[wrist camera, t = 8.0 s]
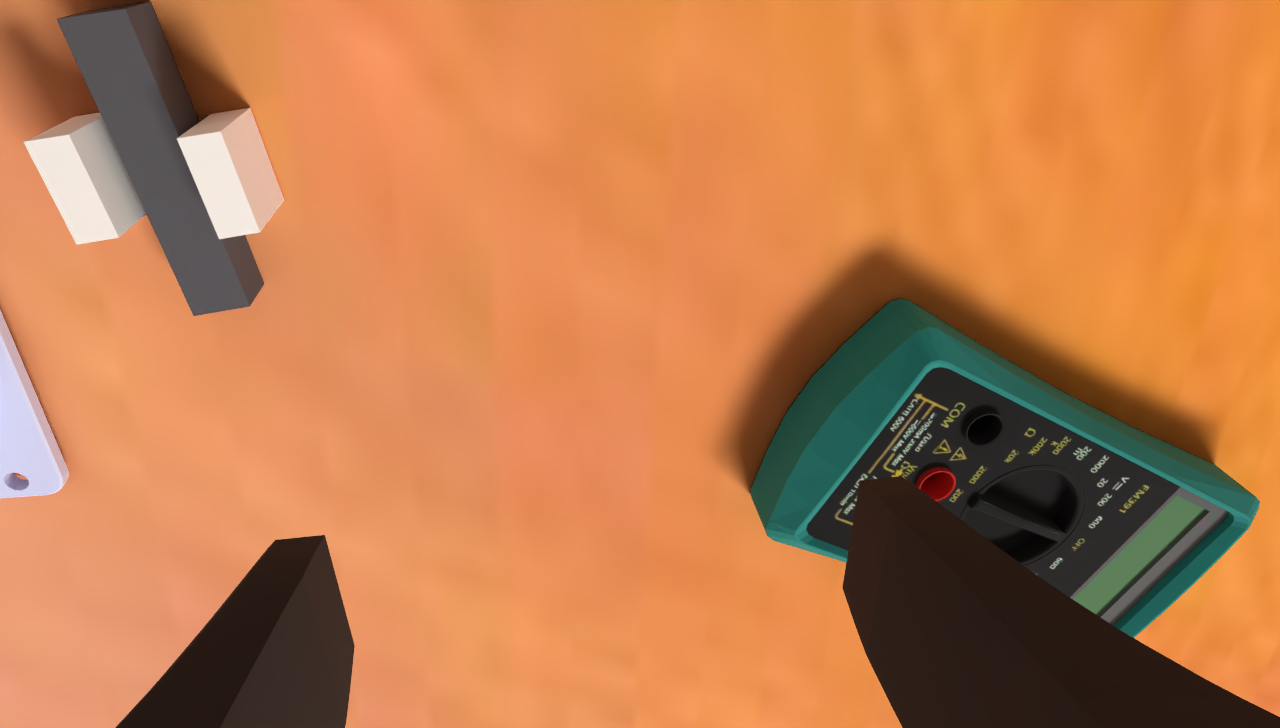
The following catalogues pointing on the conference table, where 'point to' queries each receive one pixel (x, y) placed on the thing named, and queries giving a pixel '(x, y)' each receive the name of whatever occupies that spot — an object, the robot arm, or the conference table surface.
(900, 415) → the digital multimeter
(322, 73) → the conference table surface
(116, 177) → the routed cable
